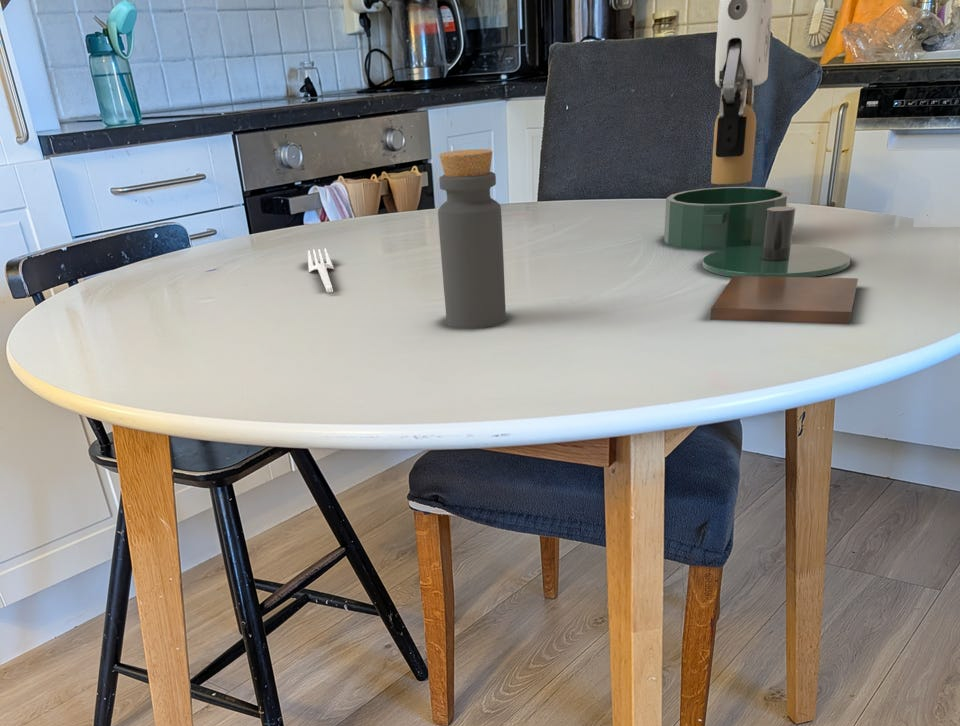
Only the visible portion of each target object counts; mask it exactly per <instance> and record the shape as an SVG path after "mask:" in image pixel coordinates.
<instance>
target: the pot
mask: <svg viewBox="0 0 960 726" xmlns="http://www.w3.org/2000/svg"><path fill="white" fill-rule="evenodd" d="M789 201H790V192H787V191H786V190H783V189H778V188H773V187H761V186H760V187H758V186H725V187H724V186H722V187H710V188H709V187H708V188H698V189H690V190H683V191H679V192H675V193H671V194H670V195H668V196H667V197H666V198H665V212H664V213H665V215H664V233H663V234H664V235H663V236H664V237H663V241H664V242H665V244H667V245H669V246H672V247H675V248H680V249H688V250H697V251H721V250H725V249H730V248H737V247H744V246H755V245H763V237H764V227H765V218H766V210H767V209H768V208H771V207H789Z"/></svg>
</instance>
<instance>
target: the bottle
mask: <svg viewBox="0 0 960 726" xmlns="http://www.w3.org/2000/svg"><path fill="white" fill-rule="evenodd" d="M439 159H440V163H441V167H442V171H443V175H441V176H440V177H439V178H438V182H439V188H440V190H442V191H445V192H446V193H445V194H446V201H445V202H444V203H442V204H441V205H440V206H439V208H438V209H437V217H438V233H439V246H440V258H441V271H442V282H443V296H444V305H445V306H444V307H445V317H446V325H447V326H449V327H451V328H454V329H461V330H462V329H463V330H477V329H486V328H491V327H495V326H498V325H500V324H503V323H504V322H506V320H507V317H506V316H507V314H506V313H507V312H506V311H507V310H506V290H505V289H506V286H505V262H504V240H503V222H502V221H503V219H502V207H501V204H500V203H499V202H498V201H497V200H496V199H493V198H492V197H491V188H493V187H495V186H496V184H497V178H496V175H497V174H496V173H495V172H493V171H491V167H492V159H493V150H491V149H486V148H484V149H483V148H481V149H479V148H477V149H462V150H461V149H460V150H459V149H458V150H452V151H445V152H442V153H440V154H439Z"/></svg>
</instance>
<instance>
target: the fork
mask: <svg viewBox="0 0 960 726" xmlns="http://www.w3.org/2000/svg"><path fill="white" fill-rule="evenodd" d="M317 251H318V255H319V260H318V256H317V253H316V250H315V249H313V250H312V253H313V258H312V254H311V251H310V249H308V250H307V265H308V272H309V273H311V272H312V271H317V272H318V274H319V276H320V279H321V282H322V283H323V286H324V288H325V291H326V293H333V292H334V288H333V286H332V282H331V279H330V275H329V272H328V269H331V270H334V269H335V267H334V265H333V263H332V260H331V258H330V255H329V253H328V251H327V248H324V249H323V251H324V255H325V261H326V262H325V261H324V259H323V255H322V251H321V248H318V250H317ZM313 259H314V262H313ZM319 261H320V262H319ZM314 263H315V264H314Z"/></svg>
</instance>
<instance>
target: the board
mask: <svg viewBox="0 0 960 726" xmlns="http://www.w3.org/2000/svg"><path fill="white" fill-rule="evenodd" d="M858 281H859V278H857V277H852V278H851V277H756V276H733V277H731V279H730V280H729V282H728V283H727V284H726V285H725V287H724V289H722V291H721V293H720V295H719V296H718V297H717V299H716V300H715V302H714V303H713V304H712V306H711V307H710V318H709V319H710V320H713V321H715V320H716V321H717V320H718V321H740V322H741V321H745V322H746V321H747V322H772V323H773V322H774V323H777V322H778V323H804V324H829V325H833V324H834V325H850V322H851V317H852V312H853V306H854V302H855V298H856V293H857V288H858V283H859V282H858Z"/></svg>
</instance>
